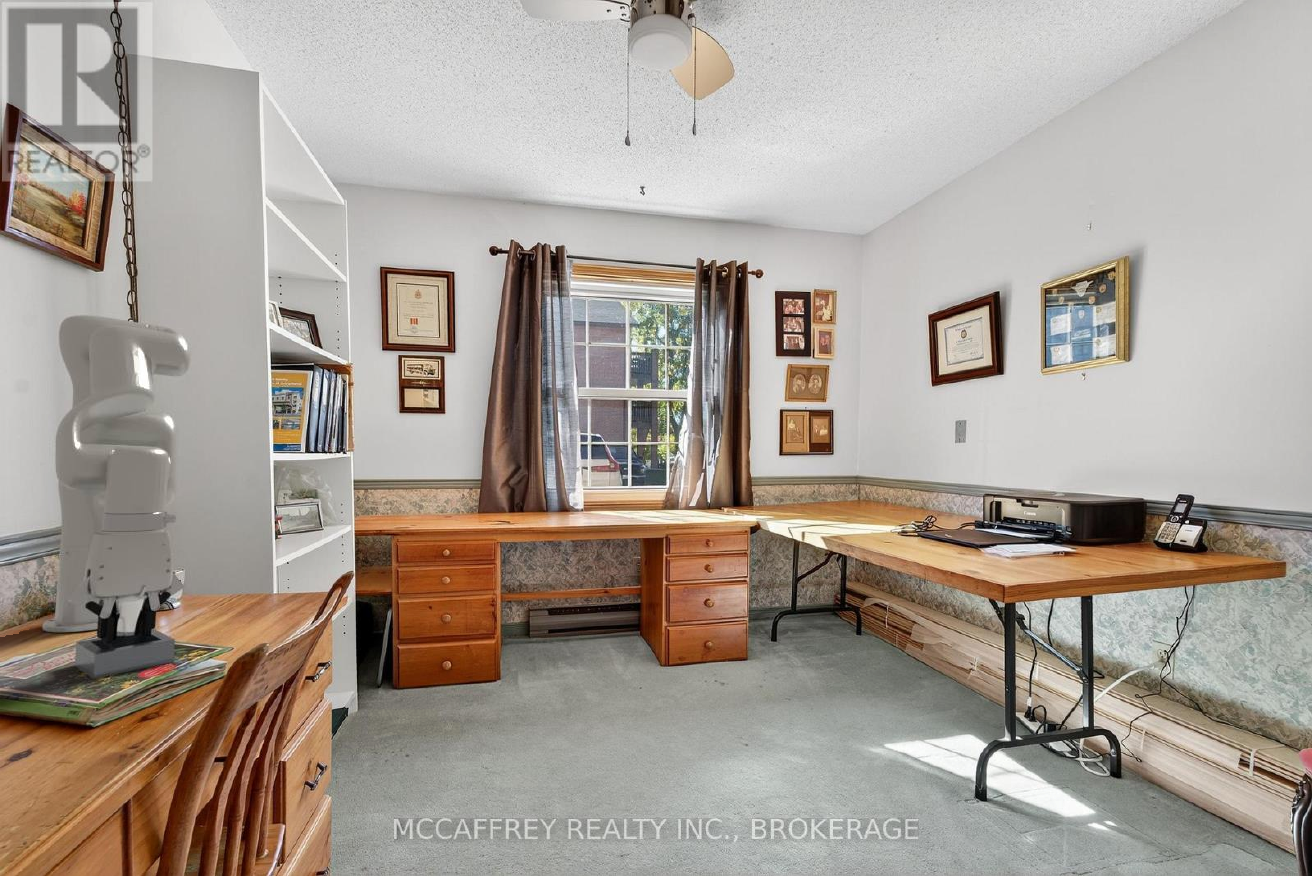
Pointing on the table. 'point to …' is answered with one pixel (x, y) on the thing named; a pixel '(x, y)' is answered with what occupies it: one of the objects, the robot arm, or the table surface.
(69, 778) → the table surface
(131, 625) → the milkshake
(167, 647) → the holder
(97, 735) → the table surface
